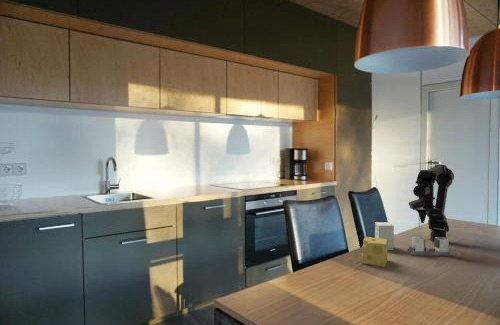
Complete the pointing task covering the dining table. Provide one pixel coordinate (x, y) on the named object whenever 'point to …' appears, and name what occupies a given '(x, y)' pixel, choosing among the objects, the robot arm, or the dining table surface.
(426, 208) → the robot arm
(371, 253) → the cheese
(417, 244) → the block
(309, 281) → the dining table surface
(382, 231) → the supplement box
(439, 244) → the rail
